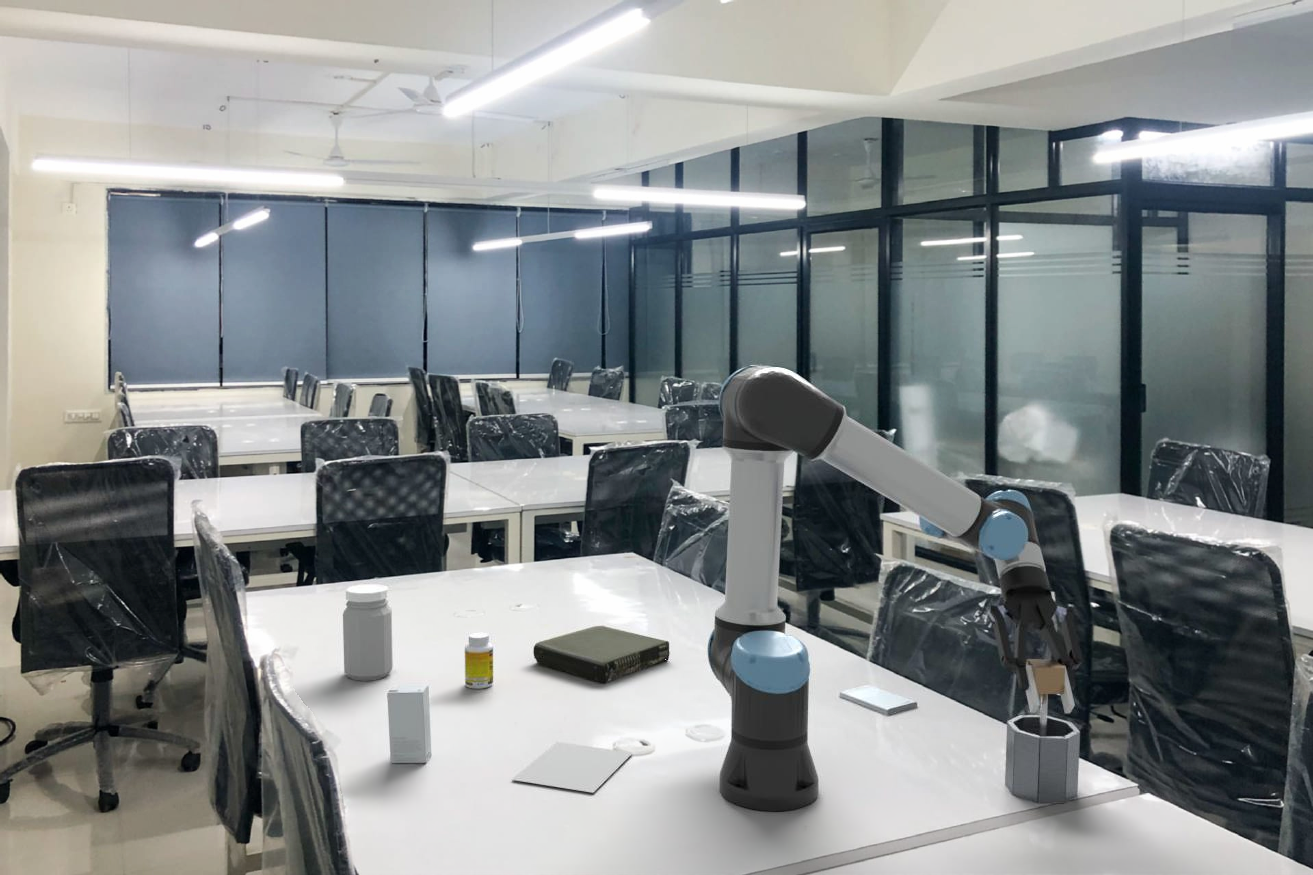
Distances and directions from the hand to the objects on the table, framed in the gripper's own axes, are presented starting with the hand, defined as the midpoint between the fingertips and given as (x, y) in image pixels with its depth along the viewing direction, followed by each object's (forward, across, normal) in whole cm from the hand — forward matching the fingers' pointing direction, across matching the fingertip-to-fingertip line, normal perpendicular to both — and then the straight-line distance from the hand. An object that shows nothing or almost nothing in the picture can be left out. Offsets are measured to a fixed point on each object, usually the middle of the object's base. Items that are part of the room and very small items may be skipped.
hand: (1052, 708), depth 161 cm
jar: (-29, +120, -50) cm, 133 cm away
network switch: (-36, +73, -57) cm, 99 cm away
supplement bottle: (-25, +96, -45) cm, 109 cm away
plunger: (+5, 0, -10) cm, 11 cm away
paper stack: (0, +76, -21) cm, 79 cm away
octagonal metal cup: (+7, 0, -13) cm, 15 cm away
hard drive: (-20, +18, -41) cm, 49 cm away
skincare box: (+2, +100, -18) cm, 102 cm away
